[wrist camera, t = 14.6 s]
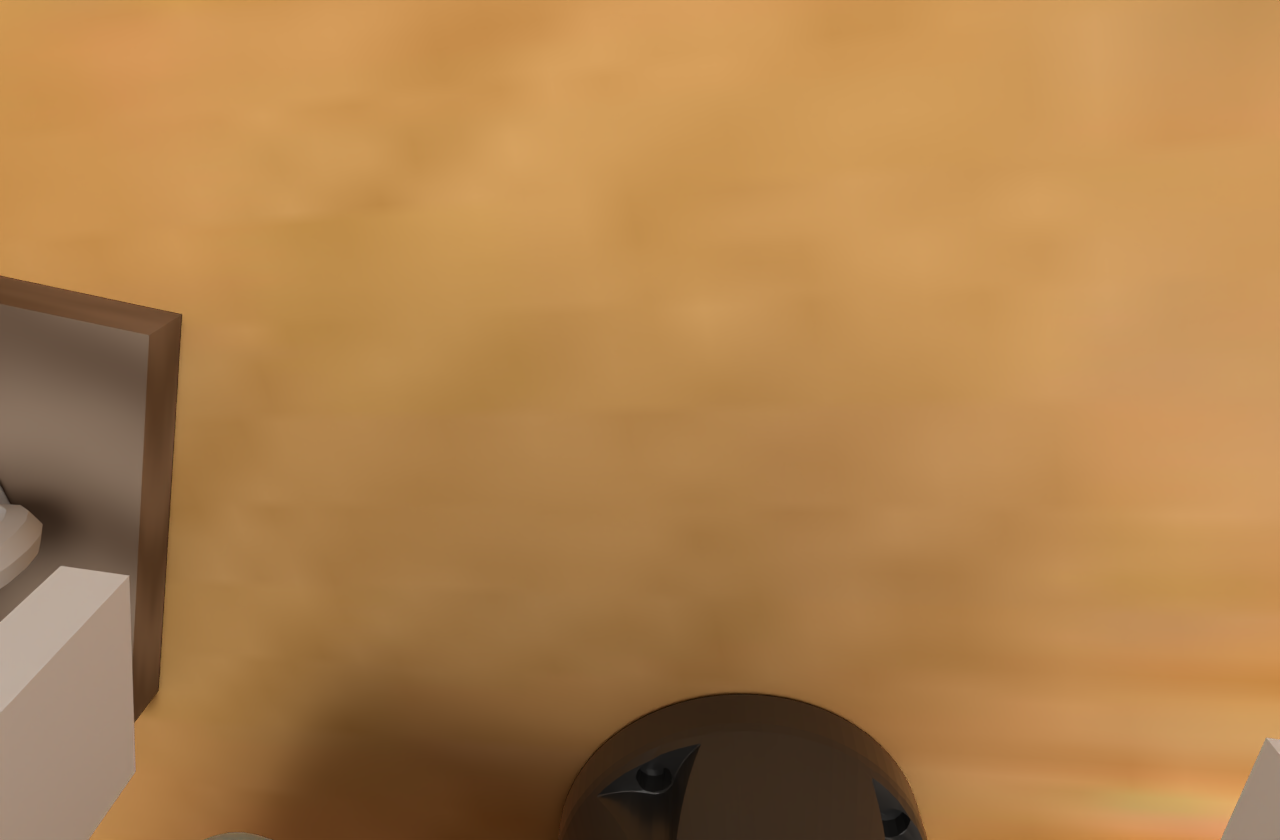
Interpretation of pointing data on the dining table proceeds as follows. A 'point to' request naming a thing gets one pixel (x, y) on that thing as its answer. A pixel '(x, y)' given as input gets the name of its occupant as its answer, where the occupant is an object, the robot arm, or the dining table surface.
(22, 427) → the board
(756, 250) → the dining table surface
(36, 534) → the cup
